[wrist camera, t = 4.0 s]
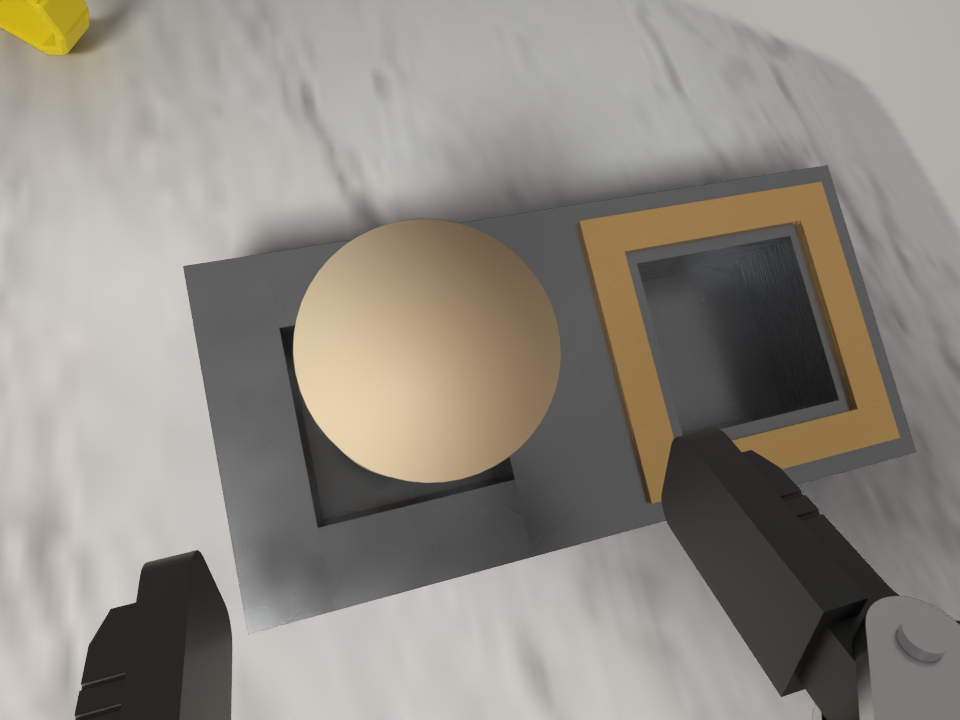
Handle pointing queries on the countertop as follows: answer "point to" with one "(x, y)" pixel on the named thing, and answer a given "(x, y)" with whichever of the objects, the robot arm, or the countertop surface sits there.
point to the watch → (46, 22)
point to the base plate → (558, 390)
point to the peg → (426, 351)
